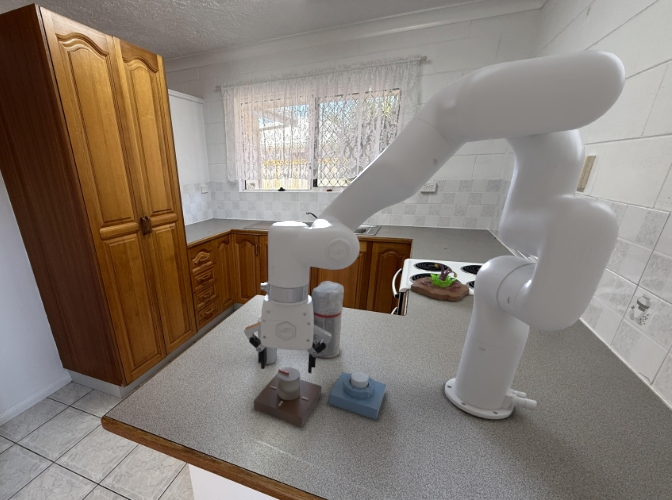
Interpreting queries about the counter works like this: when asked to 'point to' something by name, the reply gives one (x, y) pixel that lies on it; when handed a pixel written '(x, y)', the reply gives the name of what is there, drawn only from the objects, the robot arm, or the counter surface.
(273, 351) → the beverage can
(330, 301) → the spray can
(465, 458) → the counter surface
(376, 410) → the button base
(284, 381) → the lock knob
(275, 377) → the base
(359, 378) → the white button cap
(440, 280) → the plant
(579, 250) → the robot arm
